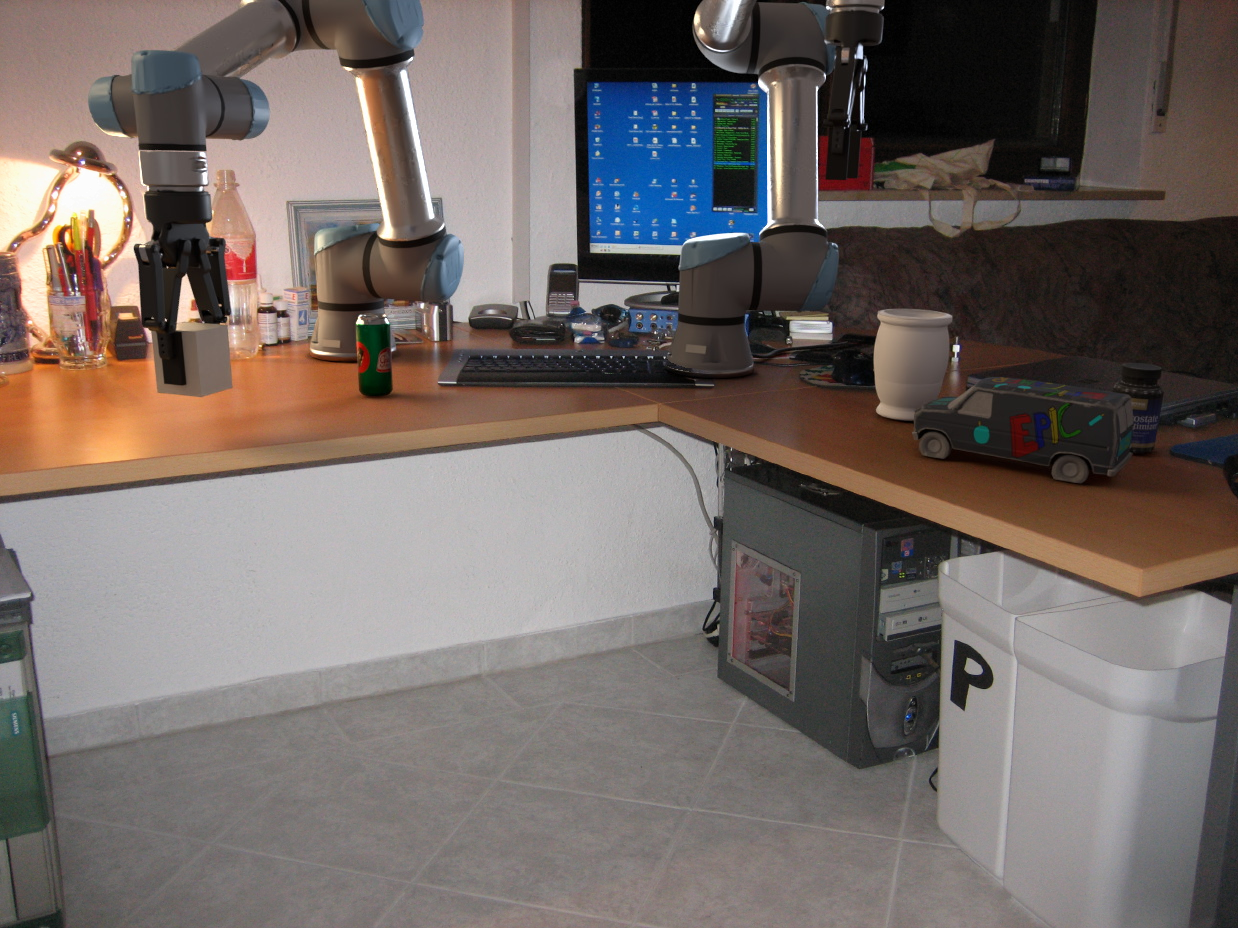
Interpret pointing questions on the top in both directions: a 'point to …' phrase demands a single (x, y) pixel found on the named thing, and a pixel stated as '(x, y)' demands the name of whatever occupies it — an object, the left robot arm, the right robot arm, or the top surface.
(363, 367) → the soda can
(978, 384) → the toy van
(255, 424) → the top surface
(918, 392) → the jar
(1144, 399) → the pill bottle
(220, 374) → the block
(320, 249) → the left robot arm
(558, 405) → the top surface
